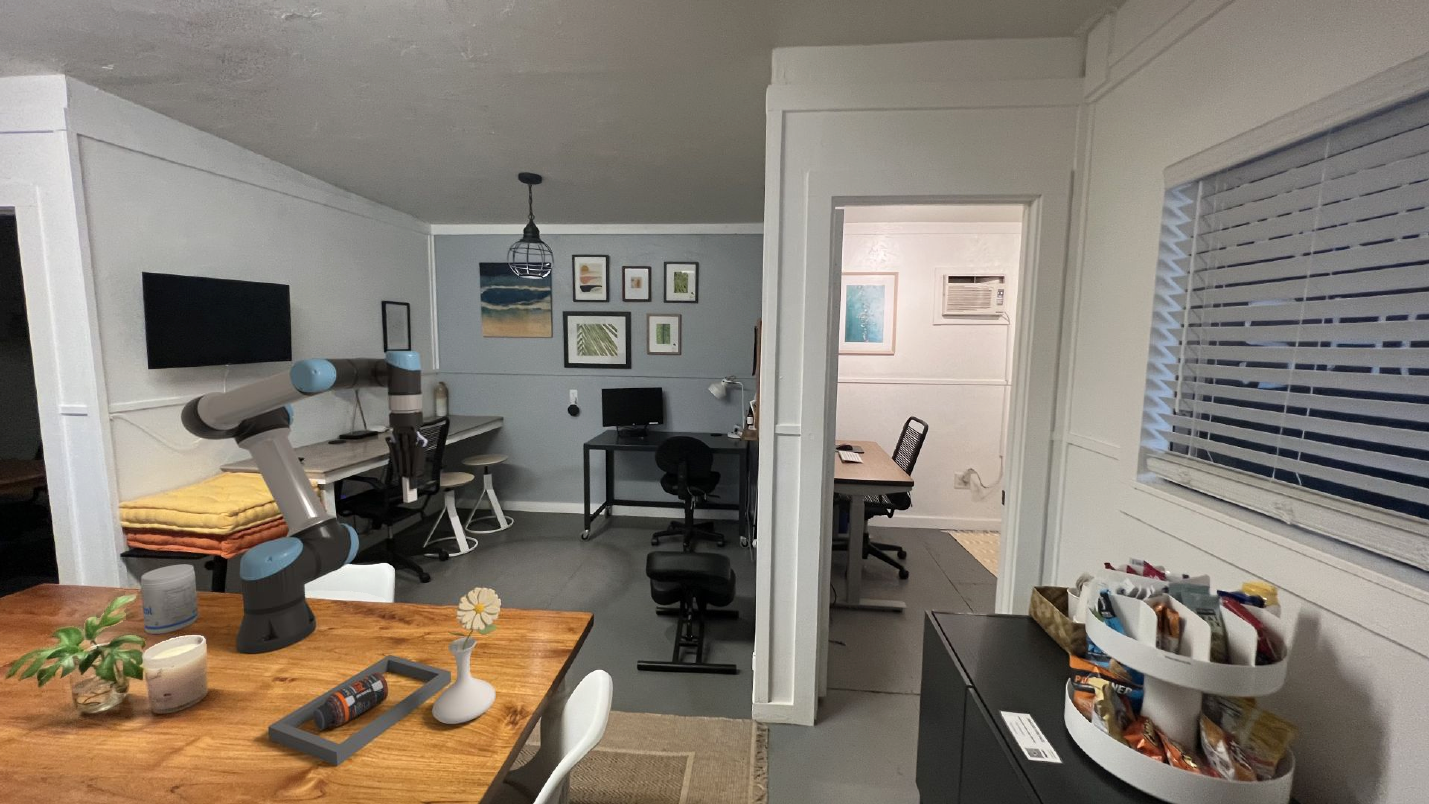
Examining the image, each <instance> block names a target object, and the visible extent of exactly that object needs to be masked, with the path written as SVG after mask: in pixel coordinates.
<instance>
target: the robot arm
mask: <svg viewBox="0 0 1429 804" xmlns="http://www.w3.org/2000/svg"><path fill="white" fill-rule="evenodd" d="M420 357H421V356H420V354H419V352H418V351H415V350H387V351H386V353H385V357H384V358H374V357H354V358H318V357H312V358H308V359H307V358H304V359H300V360H297V361H296V362H294V365H293V366H291V368H290V369H287V370H285V371H281V372H279V373H277V374H274V375H271V376H267V377H264V378H263V379H259V380H256V381H254V382H251V383H248V384H245V385H242V386H239V387H236V388H234V389H231V390H228V391H226V392H223V391H222V392H221V391H213V392H209V393H206V394H203V395H199V396H197V397H194V398H193V399H191V400H190V401H188V402H187V403H186V404H185V405H184V407H183V408H182V410H181V414H180V421H181V423H182V426H183V427H184V428H185V430H186V431H188V433H189V434H192V435H193V436H195V437H198V438H200V439H205V440H211V441H212V440H213V441H215V440H216V441H218V440H227V439H228V440H229V439H233V440H234V441H235V442H236V445H237V447H238V448H239V449H243V450H246V451H248V452H249V453H250V456H251V458H252V459H253V461H254V464H255V466H256V468H257V470H258V471H259V474H260V475H261V477H262V478H263V479H262V480H263V481H264V483H265V484H266V487H267V489H268V491H269V492H270V494H271V497H272V499H273V500H274V502H275V504H276V506H277V508H278V510H279V512H280V514H281V516H282V518H283V519H284V522H285V524H286V526H287V527H288V532H287V535H286V537H280V538H276V539H274V540H268V541H264V542H261V543H259V544H257V545H255V546H253V547H251V548H250V549H249V550H247V551H246V552H245V553H244V554H243V555H242V556H241V559H240V563H239V564H240V568H239V577H240V579H241V581H240V582H241V592H242V603H243V617H242V619H241V623H240V626H239V628H238V629H239V630H238V632H237V635H236V640H235V641H236V644H235V645H236V649H237V651H238V652H240V653H243V654H261V653H269V652H273V651H276V650H279V649H282V648H283V649H284V648H286V647H289V646H292V645H293V644H296V643H299V642H300V641H303V640H305V639H306V638H307V637H309V636H310V635H312V633H314V631H315V630H316V628H317V620H316V616H315V614H314V613H313V611H312V609H311V607H310V604H309V603H308V601H307V600H306V591H305V590H306V588H305V585H307V584H309V583H310V582H313V581H315V580H317V579H320V578H321V577H324V576H326V575H329V574H331V573H332V572H337V571H338V570H340V569H342V568H343V567H344V566H347V565H348V564H350V563H351V562H352V561H353V560H354V559H355V557H356V555H357V554H358V550H359V546H360V543H359V542H360V541H359V537H358V534H357V532H356V530H355V529H354V528H353V527H352V526H351V525H349V524H348V523H340V522H339V520H338V519H337V516H335V515H331V514H328V513H327V511H326V510H325V508H324V506H323V504H322V502H321V500H320V497H319V496H318V494H317V492H316V491H315V488H314V487H313V484H312V483H311V480H310V478H309V477H308V475H307V473H306V470H305V469H304V467H303V465H302V462H301V461H300V459H299V457H298V455H297V453H296V451H295V450H294V447H293V446H292V444H291V441H290V440H289V437H290V434H291V432H292V429H291V426H292V424H294V423H293V422H294V420H295V418H293V416H294V414H295V413H294V408H293V407H292V404H295V403H297V402H300V401H303V400H306V399H308V398H311V397H315V396H318V395H321V394H324V393H328V392H332V391H339V390H342V391H343V390H352V389H353V390H354V389H364V388H366V389H368V388H384V389H385V388H386V389H387V408H388V409H387V410H388V411H390V412H389V414H388V423H389V428H393V429H392V434H391V435H390V436H386V437H385V438H384V440H385V443H386V444H387V446H388V447H387V448H388V450H389V454H390V460H391V463H392V467H393V472H394V474H397V475H399V476H400V477H401V488H402V494H403V496H402V497H403V503H411V502H415V501H417V500H418V492H417V490H418V476H420V475H422V474H424V472H425V465H426V460H427V451H428V447H429V445H430V442H431V440H430V438H425V437H424V436H423V432H422V429H421V426H423V425H424V412H423V411H422V409H423V394H422V393H423V392H422V365H421V358H420Z"/></svg>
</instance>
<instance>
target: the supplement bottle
mask: <svg viewBox="0 0 1429 804" xmlns="http://www.w3.org/2000/svg"><path fill="white" fill-rule="evenodd" d="M388 696H389V686H388V683H387V679H386V678H385V676H384V674H382V675H381V674H380V673H373V674H371V675H369V676H367V677H365V678H363V679H361V680H359V681H357V682H355V683H353V684H351V685H350V686H348V687H346V688H344V689H342V690H340V691H338V692H336V693H334V694H332V695H330V696H329V697H328V698H327V699H326V702H325V703H324V705H321V706H320V707H318V708H316V709H315V710H314V712H313V718H312V719H313V722H314V725H315V727H316V728H317V729H318V730H320V731H323V730H324V729H327V728H328V727H330V726H331V725H332V726H334V727H339V726H342V725H344V724H346V723H347V722H350V721H352V720H353V719H354V718H356V717H358V716H360V715H363V713H365V712H367V711H369V710H370V709H372V708H374V707H376V706H377V705H379V704H381V703H382V702H384V701H386V699H388Z"/></svg>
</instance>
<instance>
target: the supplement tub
mask: <svg viewBox="0 0 1429 804" xmlns="http://www.w3.org/2000/svg"><path fill="white" fill-rule="evenodd" d="M194 569H195V568H194V565H192V564H185V563H184V564H174V565H173V564H172V565H167V566H163V567H159V568H156V569H153V570H150V571H147V572H145V573H144V574H142V575H141V577H140V579H141V580H140V593H141V601H142V602H141V604H142V613H143V614H142V615H143V624H144V631H145V632H146V633H147V634H149V635H163V634H168V633H172V632H176V631H179V630H182V629H184V628H186V627H188V626H190V625H193V623H195V622H196V621H197V620H198V619H199V609H198V597H197V596H198V595H197V582H196V581H197V580H196V572H195V570H194Z"/></svg>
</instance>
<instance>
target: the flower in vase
mask: <svg viewBox="0 0 1429 804" xmlns="http://www.w3.org/2000/svg"><path fill="white" fill-rule="evenodd" d="M459 600H460V601H459V602H458V607H457V608H456V609H457V610H456V616H455V618H456V620H458V624H461V627H462V629H466V630H470V633H469V634H468V635H465V634H464V633H459V632H450V631H448V630H447V632H448V633H449V634H451V635H454V636H459V637H461V638H457V639H455V640H453V641H451V642H450V643H449V645H448V646H447V648H448V650H449V651H450V652H451V653H452V654H453V657H454V659H455V664H456V670H457V671H456V679H455V681H454V682H453V683H452V684H451V685H449V686H448V687H447V688H445V690H443V691H442V692H441V694H440V695H438V697H437V698H436V700H435V701H434V703H433V706H432V709H431V710H432V711H431V712H432V715H433V717H434V718H435V719H436V720H438V722H441V723H443V724H451V725H452V724H453V725H455V724H461V723H466V722H469V721H472V720H473V719H476V718H478V717H480V716H481V715H483V714H484V713H485V712H487V711H488V710H489V709H490V707H492V705H493V704H494V701H495V700H496V697H497V696H496V695H497V694H496V692H497V691H496V690H495V688H494V686H493V685H492V684H491V683H489V682H488V681H485V680H483V679H480V678H475V677H473V676H472V674H471V669H470V667H471V666H470V665H471V664H470V661H471V655H472V651H473V649H474V647H475V646H476V644H477V639H476V638H474V637H471V635H472V634H473V633H474V631H476V632H477V633H478V634H479V635H481V636H485V635H489V634H491V633H493V632H494V631H496V630H497V629H498V628H499V627H498V625H497V624H494V621H496V620H497V619H498V618H499V613H500V612H501V605H502V603H501V601H502V600H501V599H500V598H499V597H498V594H496V591H495V590H494V589H492V588H486V587H474V589H472V590H470V591H469V592H468V593H467V594H464V595H463V596H461V597H460V599H459Z"/></svg>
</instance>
